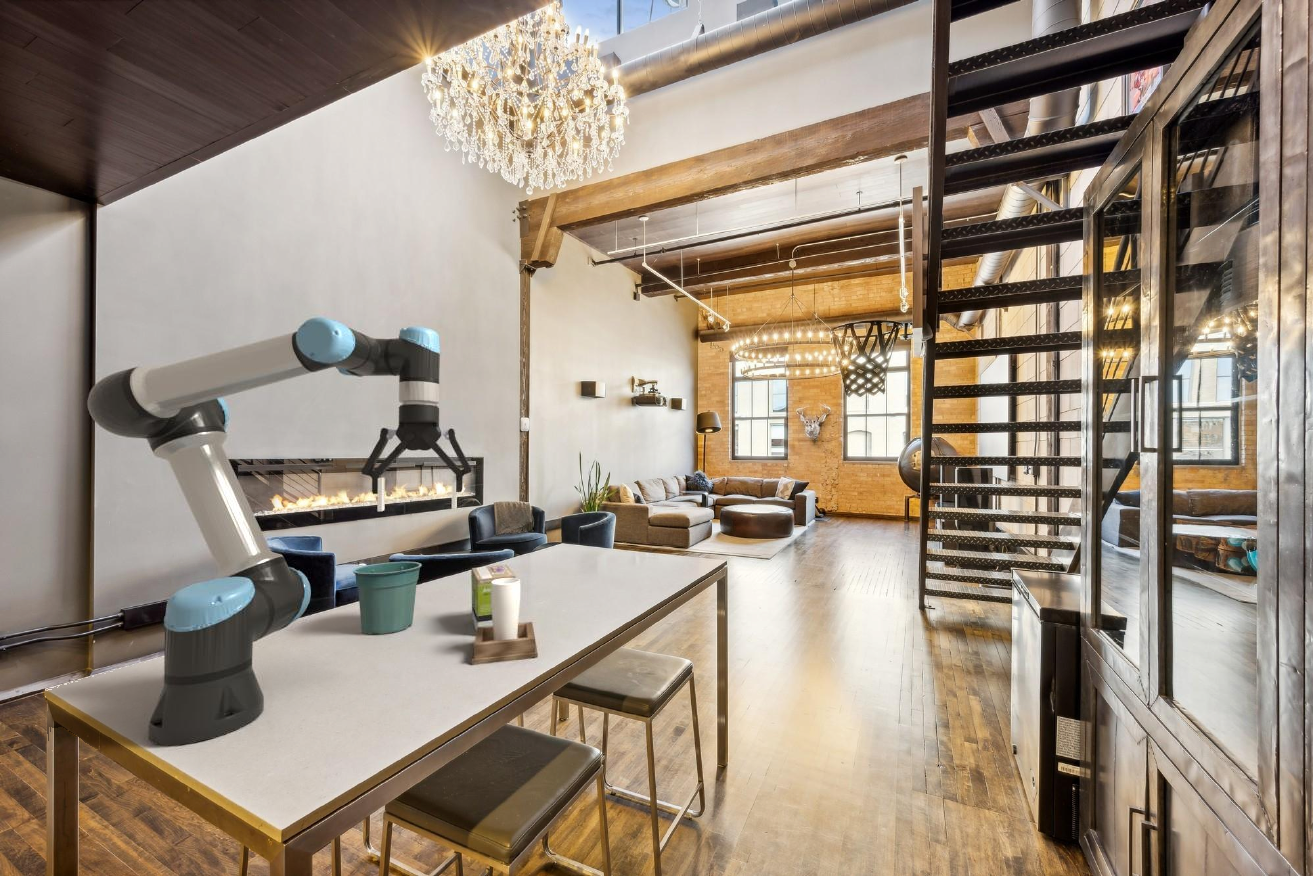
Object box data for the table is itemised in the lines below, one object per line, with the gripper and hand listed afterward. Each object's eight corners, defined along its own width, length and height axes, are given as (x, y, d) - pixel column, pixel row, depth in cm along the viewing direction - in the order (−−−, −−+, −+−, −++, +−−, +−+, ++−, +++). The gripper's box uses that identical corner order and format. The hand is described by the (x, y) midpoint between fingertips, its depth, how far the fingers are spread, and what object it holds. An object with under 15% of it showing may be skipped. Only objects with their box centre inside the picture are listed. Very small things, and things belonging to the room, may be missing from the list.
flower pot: (365, 620, 148) (365, 562, 149) (427, 616, 151) (428, 559, 152) (341, 640, 132) (342, 575, 132) (412, 635, 135) (412, 571, 135)
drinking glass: (484, 649, 122) (484, 583, 122) (500, 639, 128) (500, 577, 129) (511, 652, 120) (511, 585, 120) (525, 642, 126) (525, 578, 127)
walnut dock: (471, 664, 115) (471, 646, 115) (475, 643, 129) (475, 626, 129) (537, 657, 119) (537, 639, 119) (534, 637, 133) (534, 621, 133)
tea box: (470, 620, 147) (470, 567, 148) (507, 615, 151) (507, 563, 152) (476, 637, 133) (476, 577, 134) (517, 631, 138) (517, 573, 138)
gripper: (484, 407, 115) (483, 506, 114) (355, 405, 108) (353, 509, 107) (483, 404, 108) (482, 509, 107) (345, 401, 101) (343, 513, 100)
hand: (418, 509), depth 107 cm, fingers open, 13 cm apart
